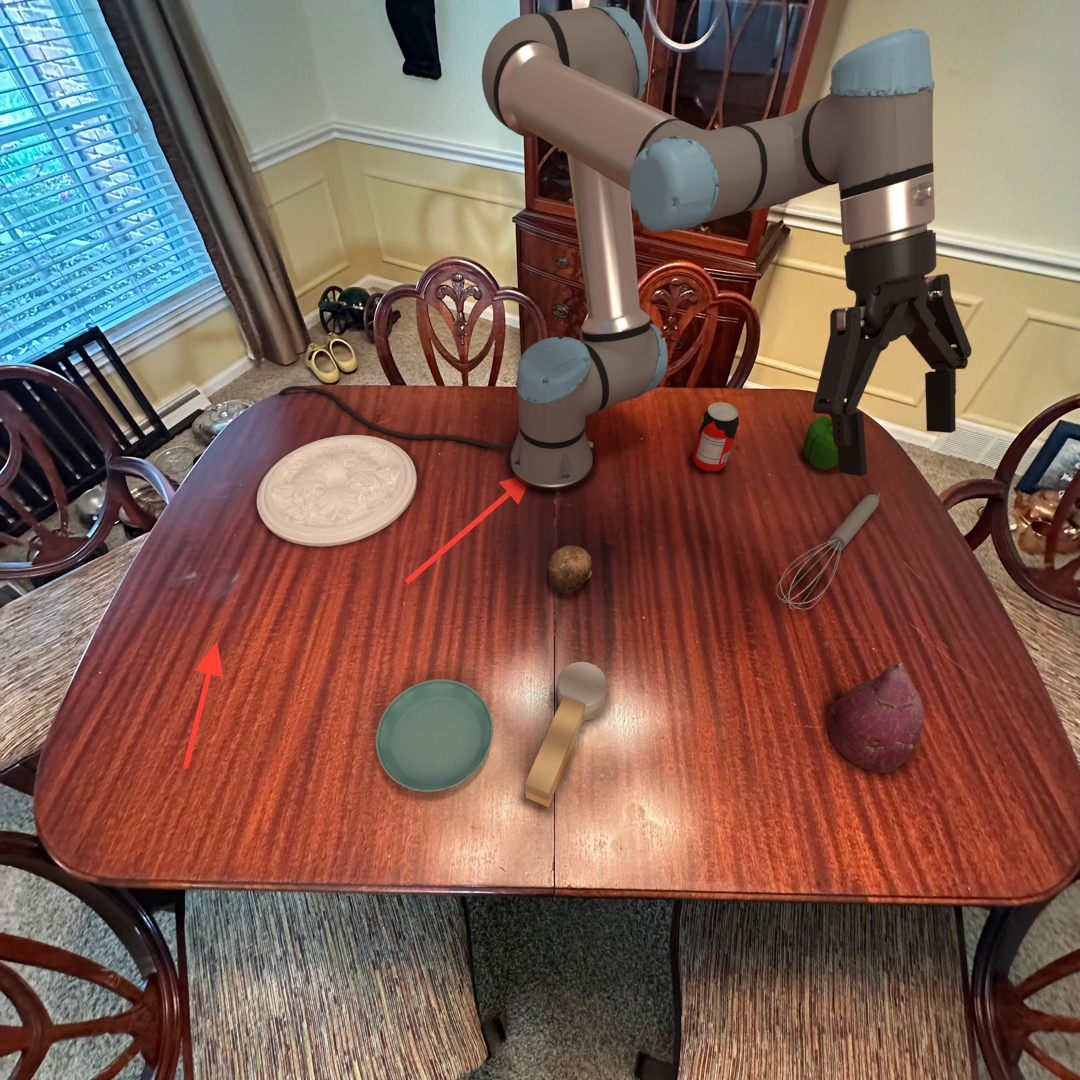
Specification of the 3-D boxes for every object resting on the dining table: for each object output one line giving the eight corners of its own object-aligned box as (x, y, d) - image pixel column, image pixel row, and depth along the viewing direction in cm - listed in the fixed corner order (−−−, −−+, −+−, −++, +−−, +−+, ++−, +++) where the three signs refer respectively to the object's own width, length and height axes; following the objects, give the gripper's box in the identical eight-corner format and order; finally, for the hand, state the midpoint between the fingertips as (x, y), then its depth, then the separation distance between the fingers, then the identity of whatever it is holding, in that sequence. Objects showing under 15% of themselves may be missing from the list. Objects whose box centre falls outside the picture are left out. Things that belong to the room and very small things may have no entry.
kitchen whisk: (891, 507, 105) (907, 480, 100) (799, 627, 89) (813, 603, 84) (857, 490, 108) (871, 464, 103) (762, 604, 92) (774, 579, 87)
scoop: (561, 813, 72) (562, 799, 68) (513, 791, 74) (511, 777, 70) (610, 687, 83) (614, 669, 79) (567, 670, 84) (568, 652, 81)
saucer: (434, 825, 71) (431, 818, 69) (356, 746, 77) (351, 737, 75) (517, 734, 78) (516, 725, 76) (440, 668, 85) (437, 658, 83)
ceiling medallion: (425, 528, 102) (422, 516, 100) (253, 560, 98) (246, 547, 95) (408, 428, 120) (405, 415, 118) (262, 451, 116) (256, 438, 113)
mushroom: (611, 559, 93) (589, 541, 89) (592, 606, 91) (569, 589, 87) (573, 553, 99) (551, 536, 95) (555, 597, 97) (531, 581, 93)
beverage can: (732, 464, 113) (749, 412, 104) (710, 479, 110) (726, 427, 101) (706, 447, 116) (720, 395, 107) (684, 461, 113) (696, 409, 104)
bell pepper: (809, 440, 117) (828, 397, 110) (850, 459, 113) (871, 416, 106) (788, 461, 113) (805, 418, 106) (829, 482, 110) (850, 439, 102)
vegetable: (810, 714, 83) (823, 637, 75) (886, 704, 83) (907, 625, 74) (846, 782, 75) (864, 703, 66) (930, 771, 74) (960, 690, 66)
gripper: (824, 262, 50) (844, 499, 57) (1015, 200, 57) (1010, 416, 65) (758, 276, 56) (784, 486, 64) (937, 219, 64) (941, 413, 71)
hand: (898, 451), depth 64 cm, fingers open, 13 cm apart
